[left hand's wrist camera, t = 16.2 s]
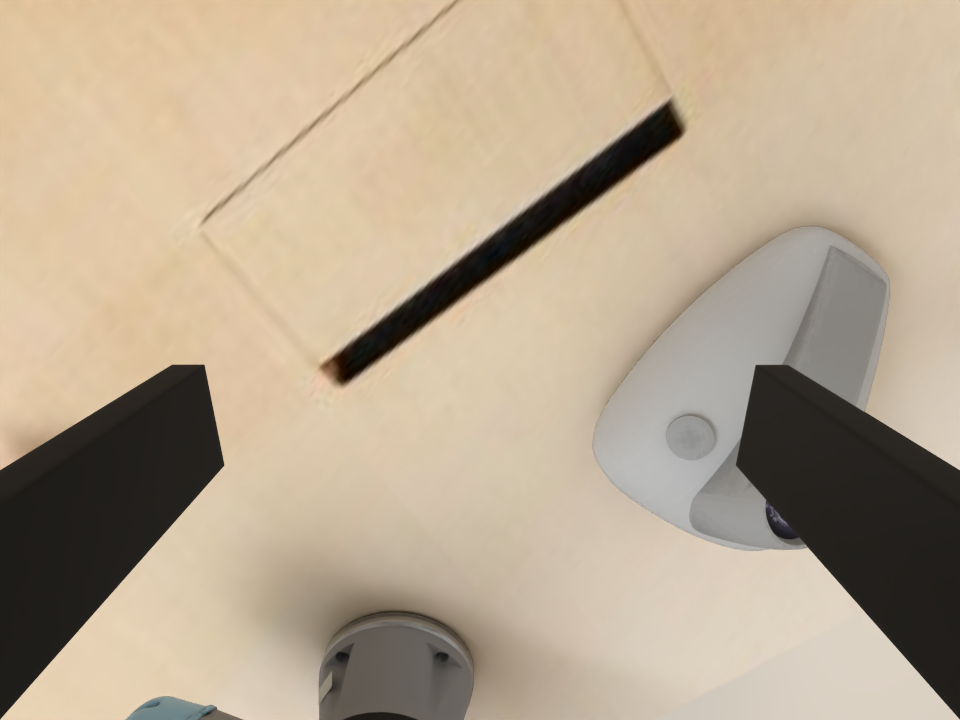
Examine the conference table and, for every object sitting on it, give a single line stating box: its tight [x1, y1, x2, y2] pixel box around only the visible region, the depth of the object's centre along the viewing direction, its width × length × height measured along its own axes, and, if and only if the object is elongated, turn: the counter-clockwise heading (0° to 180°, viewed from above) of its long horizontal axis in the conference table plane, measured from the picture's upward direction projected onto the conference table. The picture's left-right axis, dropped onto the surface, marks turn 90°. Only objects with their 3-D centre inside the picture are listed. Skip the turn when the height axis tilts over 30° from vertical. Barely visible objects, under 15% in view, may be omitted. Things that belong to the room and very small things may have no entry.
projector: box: [592, 226, 890, 551], centre depth 34 cm, size 22×23×15 cm
